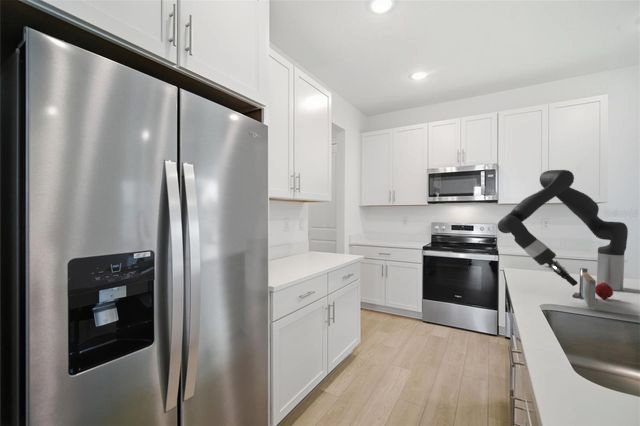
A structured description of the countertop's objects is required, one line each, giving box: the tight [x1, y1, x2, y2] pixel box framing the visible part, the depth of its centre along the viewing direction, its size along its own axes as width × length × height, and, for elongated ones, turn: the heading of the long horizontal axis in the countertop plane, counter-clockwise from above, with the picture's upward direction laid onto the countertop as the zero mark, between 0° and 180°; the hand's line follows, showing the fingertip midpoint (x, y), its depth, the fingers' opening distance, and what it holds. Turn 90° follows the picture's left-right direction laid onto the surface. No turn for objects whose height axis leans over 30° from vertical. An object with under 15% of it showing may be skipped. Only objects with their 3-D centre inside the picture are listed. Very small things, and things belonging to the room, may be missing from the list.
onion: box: [595, 281, 614, 300], centre depth 123 cm, size 6×6×8 cm
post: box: [572, 267, 588, 300], centre depth 125 cm, size 6×6×13 cm
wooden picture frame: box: [581, 271, 597, 309], centre depth 116 cm, size 18×2×11 cm, turn 144°
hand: (575, 284), depth 117 cm, fingers closed
